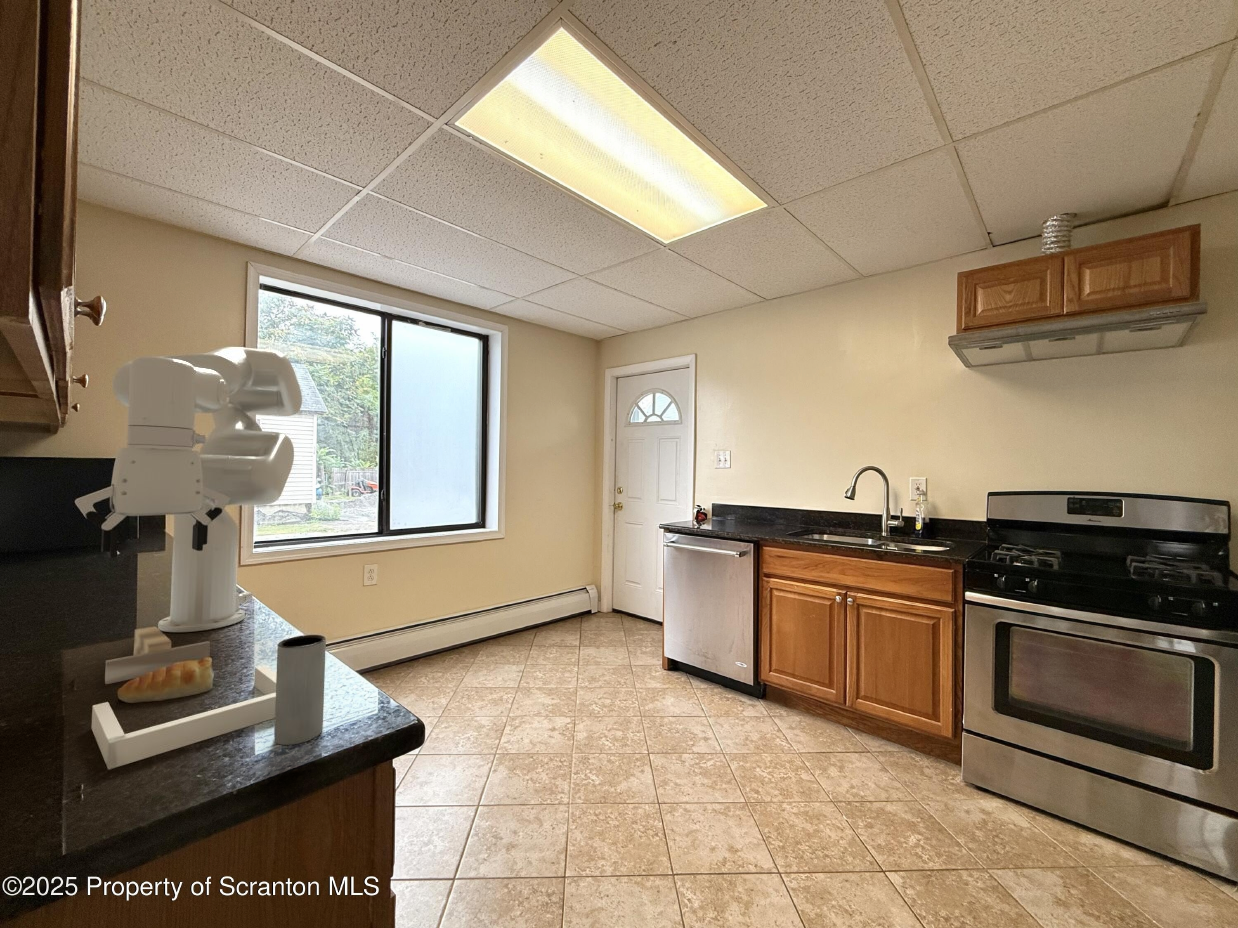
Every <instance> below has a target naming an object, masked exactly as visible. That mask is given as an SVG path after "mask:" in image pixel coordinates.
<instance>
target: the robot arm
mask: <svg viewBox="0 0 1238 928" xmlns="http://www.w3.org/2000/svg"><path fill="white" fill-rule="evenodd" d="M301 390H302V389H301V387H300V384H299V382H298V378H297V375H296V373H295V369H294V367H293V365H292V363H291V361H290V360H289V358H288V357H287V356H286V355H285V354H283V353H282V352H280V351H278V350H271V349H260V348H251V347H241V346H224V347H220V348H217V349H213V350H211V351H208V352H204V353H188V354H178V355H177V354H176V355H175V354H174V355H160V356H152V355H151V356H148V355H146V356H138V357H136V358H134V359H133V360H130V361H128V362H126V363H124V364H122V365H120V367H119V368H118V369H117V370H116V372H115V373H114V375H113V379H112V391H113V393H114V396H115V398H116V399H117V401H118V402H119V403H120V404H122V405H123V406H125V407H128V408H127V428H126V430H127V432H126V433H127V434H126V447H119V448H118V449H117V450H118V451H117V453H116V456H115V461H114V463H113V464H114V465H113V469H112V475H111V476H112V477H111V483H110V484H111V485H110V486H109V487H108V486H107V487H106V488H102V489H101V490H97V491H95V492H92V493H89V494H86V495H84V496H81V497H78V498H76V499H75V500H74V503H75V505H76V506H77V508H78V509H79V510H80V512H81V513H82V514H83V516H84V518H85V519H87V520H89V521H90V522H91V523H93V524H94V525H96V527H97V526H98V527H99V528H100V529H101V543H100V544H101V545H100V546H101V549H100V550H101V551H100V552H101V553H106V556H107V558H109V559H115V558H117V557H118V547H119V530H118V529H116V528H117V525H118V524H119V523H120V522H121V521H123V520H124V519H125V518H126V517H127V516H129V517H139V516H140V517H142V516H143V517H144V516H165V515H166V516H171V515H172V516H173V541H172V545H173V546H172V561H171V563H172V565H171V566H172V567H171V583H170V584H171V586H170V587H171V588H170V610H169V611H170V612H169V616H167V617H164V618H162V619H160V620H159V621H158V623H157V628H158V629H159V630H160V631H161V632H165V633H191V632H192V633H193V632H200V631H208V630H214V629H219V628H224V627H227V626H230V625H231V626H232V625H234V624H236V623H239V622H241V621H243V620H244V619H245V618H246V611H245V610H243V609H240V608H239V606H240V605H241V604H245V603H246V602H250V601H251V600H252V599H253V594H252V592H251V591H246V592H241V593H239V592H237V584H238V583H237V582H238V581H237V579H238V578H237V575H238V557H239V555H238V554H239V553H238V552H239V534H240V533H239V526H238V524H237V522H236V520H235V519H234V518H233V517H232V515H231V514H230V513H229V512H228V511H227V510H226V507H227V506H228V507H229V506H264V505H265V506H267V505H271V504H274V503H275V502H277V501H278V500H279V499H280V497H281V495H282V494H283V491H284V488H285V487H286V484H287V481H288V479H289V476H290V474H291V472H292V467H293V465H294V459H295V449H294V444H293V441H292V440H291V438H290V437H289V436H287V435H286V434H285V433H282V432H279V431H265V430H263V429H262V428H261V426H260V424H259V423H258V422H257V421H256V420H254V419H253V417H252V416H250V415H260V416H276V417H277V416H278V417H291V416H295V415H297V413H299V412H300V410H301V408H302V405H303V395H302V391H301ZM196 414H211V416H212V419H213V423H214V428H213V429H212V431H211V432H210V433H209V435H208V436H207V438H206V435H204V434H200V433H198V432H196V429H195V419H196V418H195V415H196ZM200 444H202V445H201V447H200V449H199V450H194V447H195V446H196V445H200ZM108 498H109V508H110V510H111V512H110V513H109V514H108V515H107V516H105V517H104V516H103V515H101V514H100V513H99V512H98V511H96V509H95V508H94V504H96V503H98V502H101V501H102V500H105V499H108Z"/></svg>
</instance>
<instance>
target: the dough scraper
mask: <svg viewBox="0 0 1238 928" xmlns="http://www.w3.org/2000/svg"><path fill="white" fill-rule="evenodd" d="M133 639H134V642H133V655H129V656H124V657H118V658H113V659H108V660H105V672H104V684H105V685H109V684H113V683H119V682H124V681H128V680H129V681H130V680H132V679H135V678H137V677H141V676H144V675H145V674H146V673H149V672H153V671H155V670H158V669H159V668H161V667H169V666H171V665H172V664H174V663H177V662H184V661H197V660H202V659H204V658H210V654H211V653H210V652H211V651H210V650H211V642H210V641H209V640H207V641H203V642H202V641H201V642H197V643H192V644H186V645H181V646H175V647H172V641H171V639H170V638H169V637H167V635H166V634H165V633H163V631H161V630H159V629H158V626H156V625H154V626H148V627H142V628H137V629H134V638H133Z"/></svg>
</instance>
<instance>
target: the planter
mask: <svg viewBox="0 0 1238 928" xmlns="http://www.w3.org/2000/svg"><path fill="white" fill-rule="evenodd" d="M326 645H327V638H326V636H324V635H320V634H303V635H301V634H300V635H296V636H291V637H288V638H285V639H283V640H281V641H279V642H278V644H277V650H276V651H277V652H276V654H277V655H276V673H277V675H276V701H275V718H274V728H273V729H274V730H273V731H274V735H273V738H274V742H275V743H276V744H278V745H283V746H284V745H285V746H292V745H293V746H294V745H298V744H302V743H305V742H309V741H310V740H312V739H315V738H317V737H318V736H319V735H320V734H321V733H322V732H323V727H324V726H323V725H324V705H325V703H324V702H325V679H326V676H325V674H326V673H325V672H326V671H325V670H326V652H327V651H326V649H327V647H326Z"/></svg>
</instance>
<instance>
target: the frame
mask: <svg viewBox="0 0 1238 928" xmlns="http://www.w3.org/2000/svg"><path fill="white" fill-rule="evenodd" d="M276 675H277V671H275V670H274V669H272V668H270V666H268V665H266V664H262V665H258V666H255V667H254V678H253V681H254V682H253V687H255V688H256V689H257V690H258V691H260V692H261V693H262V694H263V695H262V696H258V697H255V698H250V699H246V700H244V701H240V702H237V703H232V704H229V705H225V706H222V707H219V708H214V709H212V710H208V711H205V712H200V713H197V714H193V715H190V716H186V717H182V718H179V719H175V720H171V721H168V722H165V723H160V724H156V725H153V726H150V727H146V728H143V729H139V730H135V731H132V732H129V733H125V732H124V730H123V728H122V726H121V725H120V723H119V721H118V719H117V717H116V714H115V713H114V710H113V709H112V707H111V706H110V703H109V702H108V701H106V702H102V703H101V702H100V703H98V704H94V705H92V712H91V730H92V732H93V735H94V738H95V741H96V743H97V745H98V749H99V750H100V752H101V756H102V758H103V760H104V762H105V764H106V767H107V770H112V769H115V768H118V767H122V766H124V765H128V764H130V763H134V762H137V761H141V760H144V759H147V758H150V757H153V756H156V755H160V754H163V753H167V752H170V751H172V750H176V749H179V748H183V747H186V746H189V745H192V744H195V743H198V742H201V741H205V740H208V739H211V738H214V737H217V736H221V735H224V734H228V733H231V732H234V731H237V730H241V729H244V728H246V727H251V726H253V725H256V724H260V723H263V722H265V721H269V720H273V719H275V701H276Z"/></svg>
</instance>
